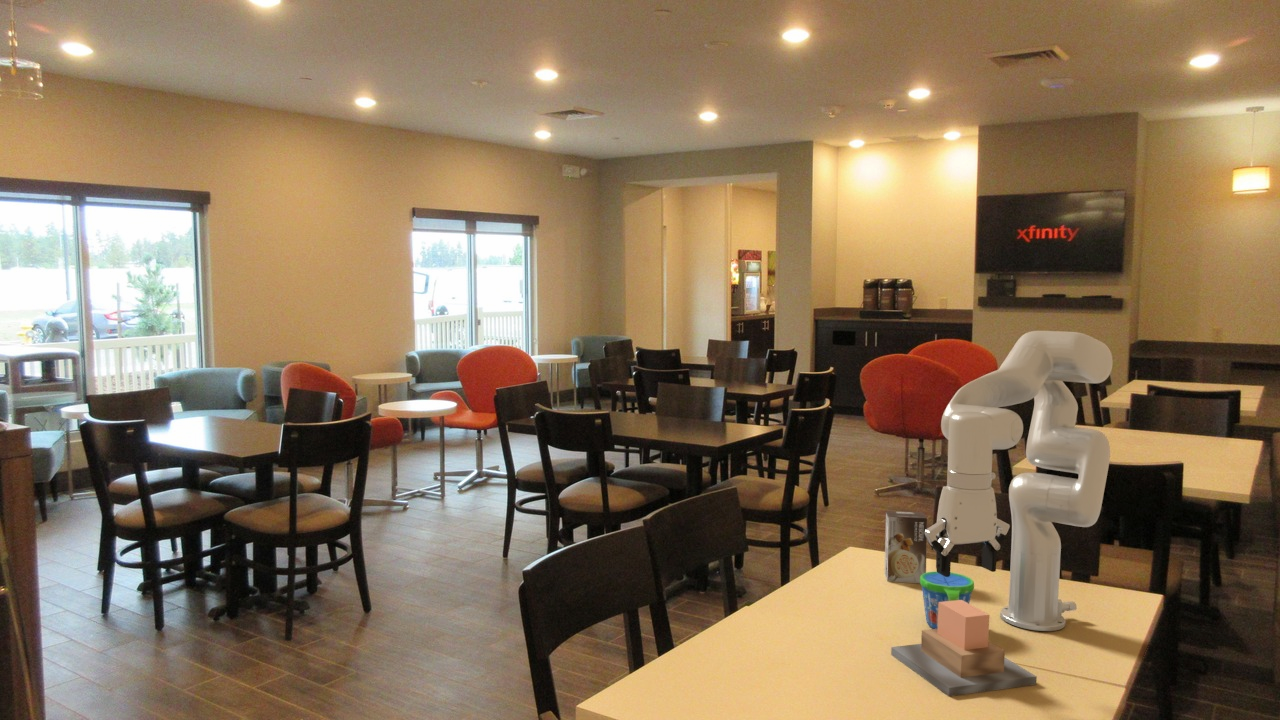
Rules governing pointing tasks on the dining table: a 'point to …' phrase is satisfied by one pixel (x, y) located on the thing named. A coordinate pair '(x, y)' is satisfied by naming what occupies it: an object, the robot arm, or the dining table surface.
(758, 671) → the dining table surface
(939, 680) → the base
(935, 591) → the snack cup
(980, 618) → the brick
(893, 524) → the coffee box
